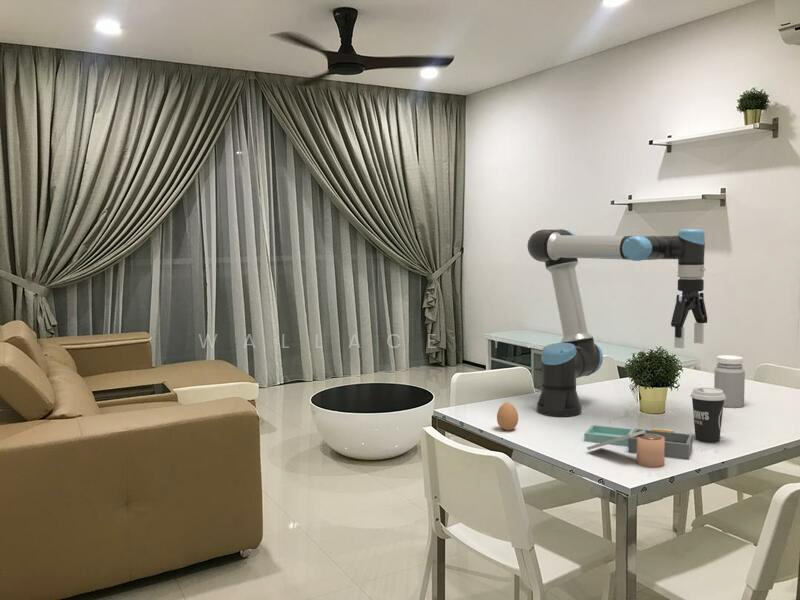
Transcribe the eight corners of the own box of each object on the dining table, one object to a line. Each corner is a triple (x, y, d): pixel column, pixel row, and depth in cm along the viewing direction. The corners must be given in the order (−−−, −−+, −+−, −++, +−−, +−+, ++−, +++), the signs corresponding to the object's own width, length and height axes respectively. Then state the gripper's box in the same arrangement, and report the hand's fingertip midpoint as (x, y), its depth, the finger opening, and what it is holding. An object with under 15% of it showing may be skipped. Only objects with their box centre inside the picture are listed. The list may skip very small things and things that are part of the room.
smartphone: (603, 445, 191) (601, 442, 191) (646, 432, 179) (645, 429, 180) (587, 450, 187) (586, 447, 187) (630, 437, 175) (629, 434, 175)
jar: (750, 408, 233) (751, 357, 232) (730, 411, 230) (730, 360, 229) (727, 402, 243) (728, 354, 241) (707, 405, 239) (708, 356, 238)
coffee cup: (695, 433, 204) (695, 385, 202) (728, 438, 198) (729, 389, 196) (685, 441, 196) (686, 391, 195) (720, 446, 190) (721, 395, 189)
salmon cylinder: (634, 465, 176) (634, 438, 175) (638, 457, 182) (638, 432, 181) (662, 468, 172) (662, 441, 172) (666, 460, 179) (666, 435, 178)
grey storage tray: (628, 452, 187) (628, 436, 187) (635, 441, 197) (635, 426, 196) (688, 459, 180) (689, 442, 179) (692, 448, 189) (692, 432, 189)
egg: (492, 430, 212) (492, 402, 211) (506, 426, 216) (506, 399, 216) (508, 434, 207) (508, 406, 206) (522, 430, 211) (522, 402, 211)
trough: (584, 441, 198) (584, 433, 198) (592, 432, 207) (592, 424, 207) (628, 446, 192) (628, 438, 192) (634, 437, 201) (634, 429, 201)
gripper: (684, 280, 197) (682, 351, 199) (719, 277, 214) (717, 342, 216) (660, 279, 203) (658, 348, 205) (696, 276, 220) (694, 340, 221)
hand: (689, 345), depth 210 cm, fingers open, 13 cm apart
